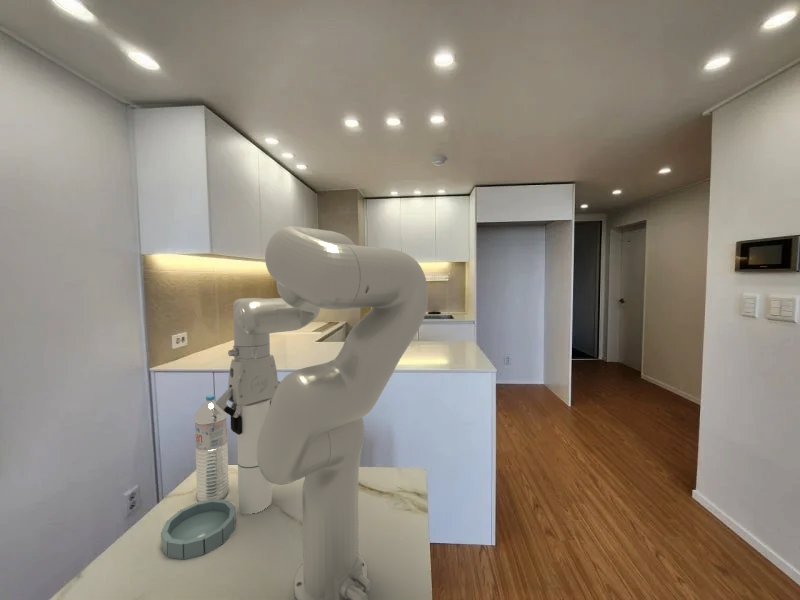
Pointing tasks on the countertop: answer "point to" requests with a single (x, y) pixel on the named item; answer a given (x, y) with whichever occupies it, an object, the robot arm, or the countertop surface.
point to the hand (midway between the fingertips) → (254, 426)
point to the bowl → (198, 529)
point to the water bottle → (211, 451)
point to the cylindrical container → (252, 460)
